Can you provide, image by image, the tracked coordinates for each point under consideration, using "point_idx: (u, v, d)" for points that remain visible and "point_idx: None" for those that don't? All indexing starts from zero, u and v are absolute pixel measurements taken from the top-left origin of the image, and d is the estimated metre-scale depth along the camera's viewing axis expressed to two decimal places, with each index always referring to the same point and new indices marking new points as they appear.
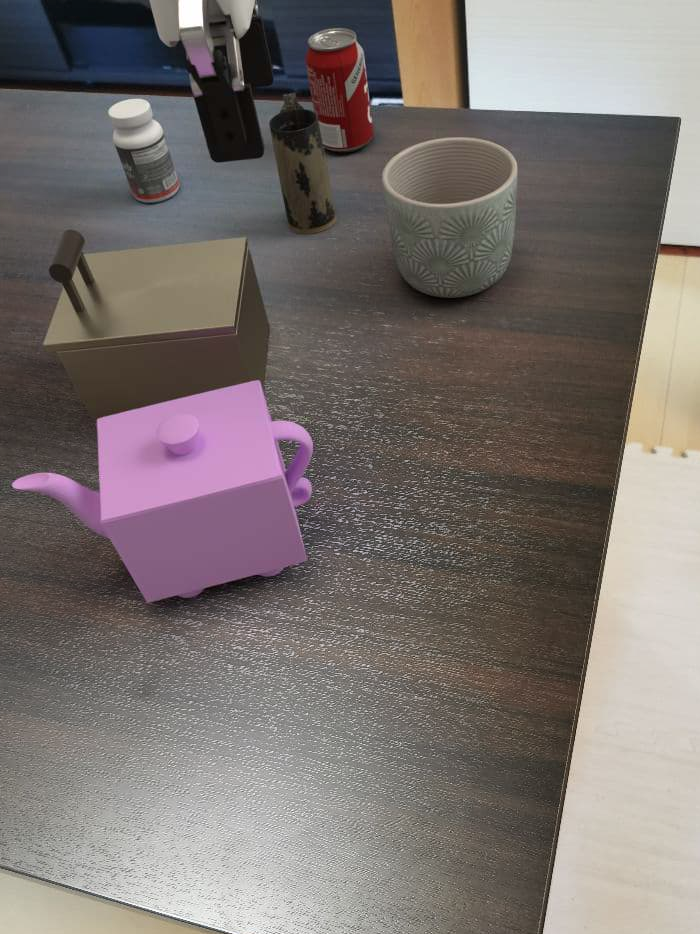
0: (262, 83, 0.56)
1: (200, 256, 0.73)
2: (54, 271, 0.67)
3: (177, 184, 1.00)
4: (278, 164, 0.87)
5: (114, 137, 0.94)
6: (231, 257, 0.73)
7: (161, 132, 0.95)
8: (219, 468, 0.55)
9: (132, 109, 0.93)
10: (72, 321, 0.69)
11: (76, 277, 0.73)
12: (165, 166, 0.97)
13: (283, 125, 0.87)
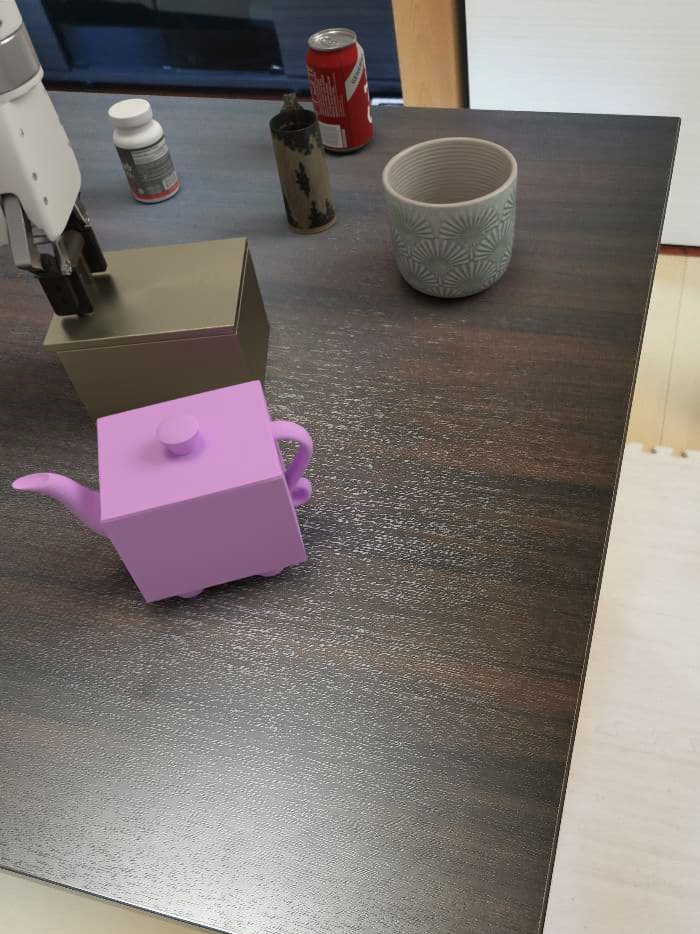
0: (97, 270, 0.72)
1: (200, 256, 0.73)
2: None
3: (177, 183, 1.00)
4: (278, 164, 0.87)
5: (114, 137, 0.94)
6: (231, 257, 0.73)
7: (161, 132, 0.95)
8: (219, 468, 0.55)
9: (132, 109, 0.93)
10: (72, 321, 0.69)
11: None
12: (165, 166, 0.97)
13: (283, 125, 0.87)
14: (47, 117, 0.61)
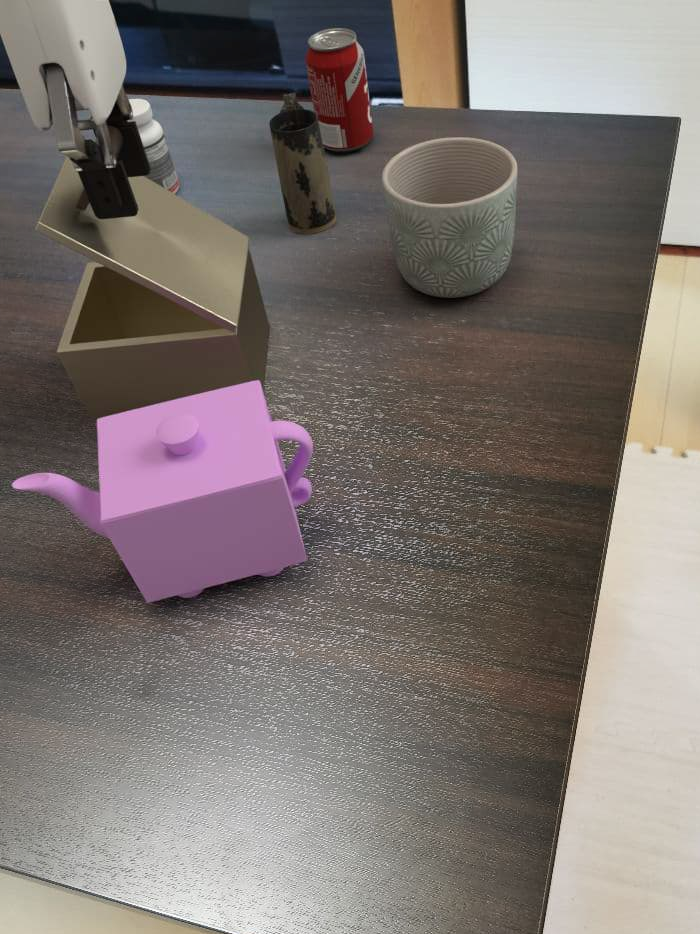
0: (140, 173, 0.66)
1: (206, 229, 0.71)
2: None
3: (177, 183, 1.00)
4: (278, 164, 0.87)
5: None
6: (235, 250, 0.72)
7: (161, 132, 0.95)
8: (219, 468, 0.55)
9: (132, 109, 0.93)
10: (72, 215, 0.62)
11: None
12: (165, 166, 0.97)
13: (283, 125, 0.87)
14: None
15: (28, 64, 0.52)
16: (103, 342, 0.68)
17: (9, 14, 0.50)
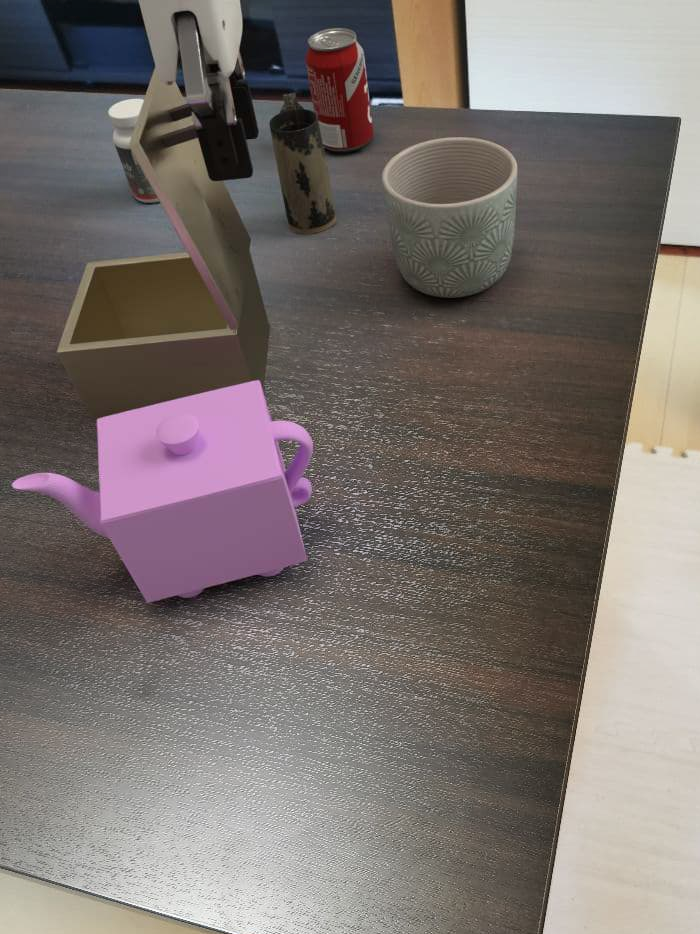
0: (248, 137, 0.64)
1: (230, 215, 0.70)
2: None
3: None
4: (278, 164, 0.87)
5: (114, 137, 0.94)
6: (243, 247, 0.72)
7: None
8: (219, 468, 0.55)
9: (132, 109, 0.93)
10: (158, 148, 0.58)
11: (164, 93, 0.61)
12: None
13: (283, 125, 0.87)
14: None
15: (160, 12, 0.51)
16: (103, 342, 0.68)
17: None
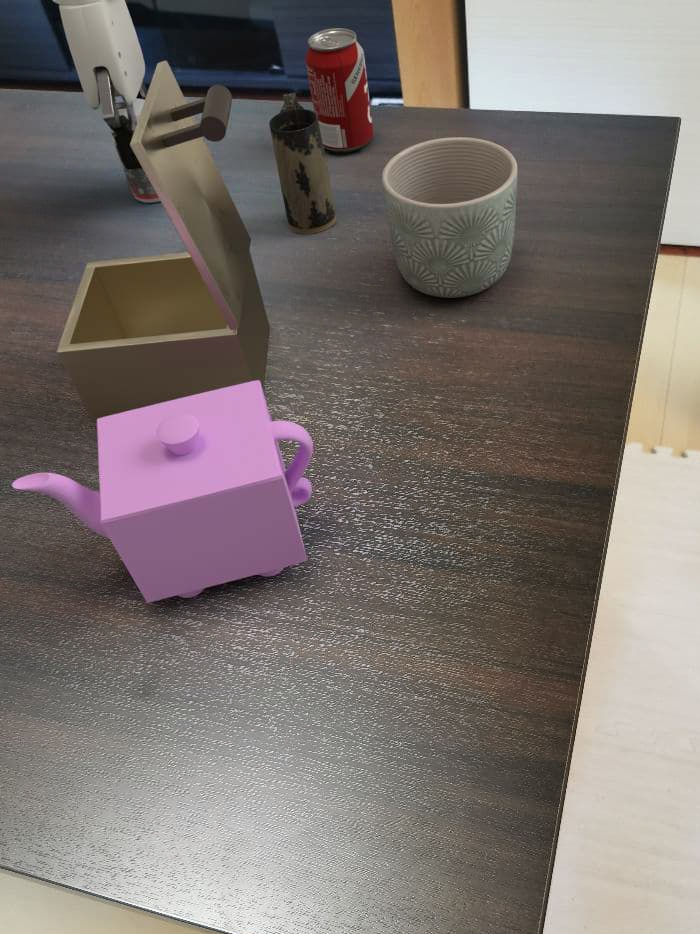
0: None
1: (230, 215, 0.70)
2: (213, 122, 0.58)
3: None
4: (278, 164, 0.87)
5: None
6: (243, 247, 0.72)
7: None
8: (219, 468, 0.55)
9: None
10: (160, 148, 0.58)
11: (165, 93, 0.61)
12: None
13: (283, 125, 0.87)
14: (126, 16, 0.87)
15: (86, 67, 0.85)
16: (103, 342, 0.68)
17: (76, 37, 0.83)
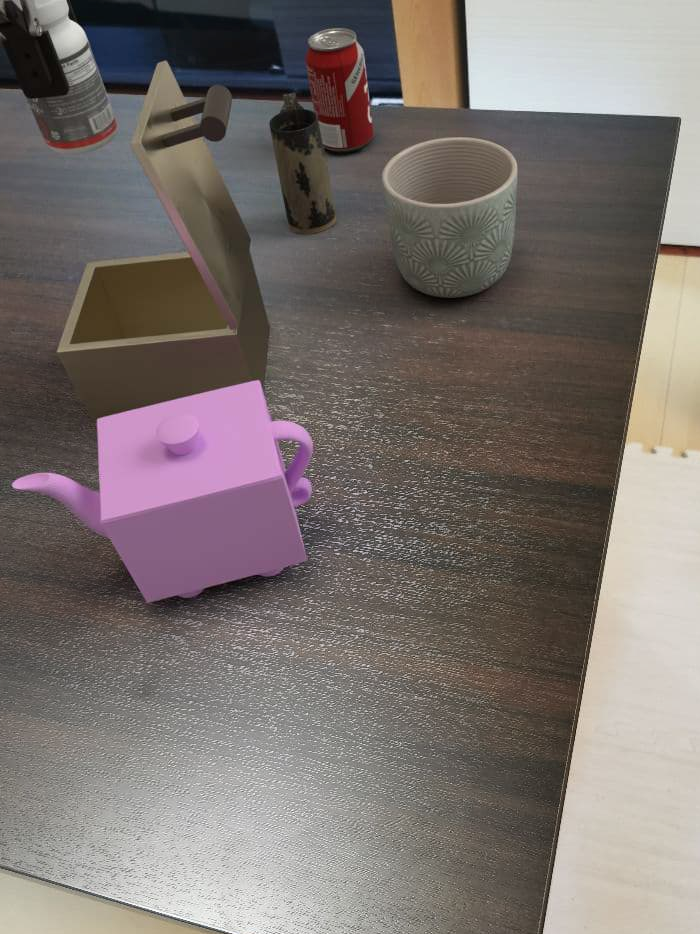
0: None
1: (230, 215, 0.70)
2: (213, 122, 0.58)
3: (114, 125, 0.65)
4: (278, 164, 0.87)
5: None
6: (243, 247, 0.72)
7: (84, 39, 0.60)
8: (219, 468, 0.55)
9: None
10: (160, 148, 0.58)
11: (165, 93, 0.61)
12: (92, 95, 0.62)
13: (283, 125, 0.87)
14: None
15: None
16: (103, 342, 0.68)
17: None
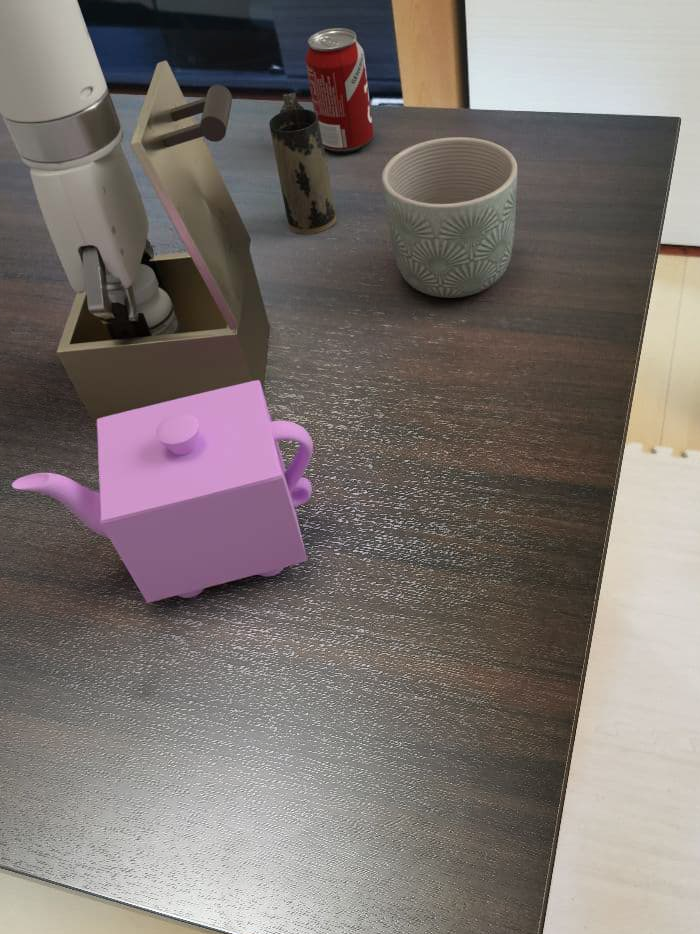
0: None
1: (230, 215, 0.70)
2: (213, 122, 0.58)
3: None
4: (278, 164, 0.87)
5: None
6: (243, 247, 0.72)
7: (169, 306, 0.72)
8: (219, 468, 0.55)
9: None
10: (160, 148, 0.58)
11: (165, 93, 0.61)
12: None
13: (283, 125, 0.87)
14: (123, 172, 0.65)
15: (69, 246, 0.62)
16: (103, 342, 0.68)
17: (54, 211, 0.60)
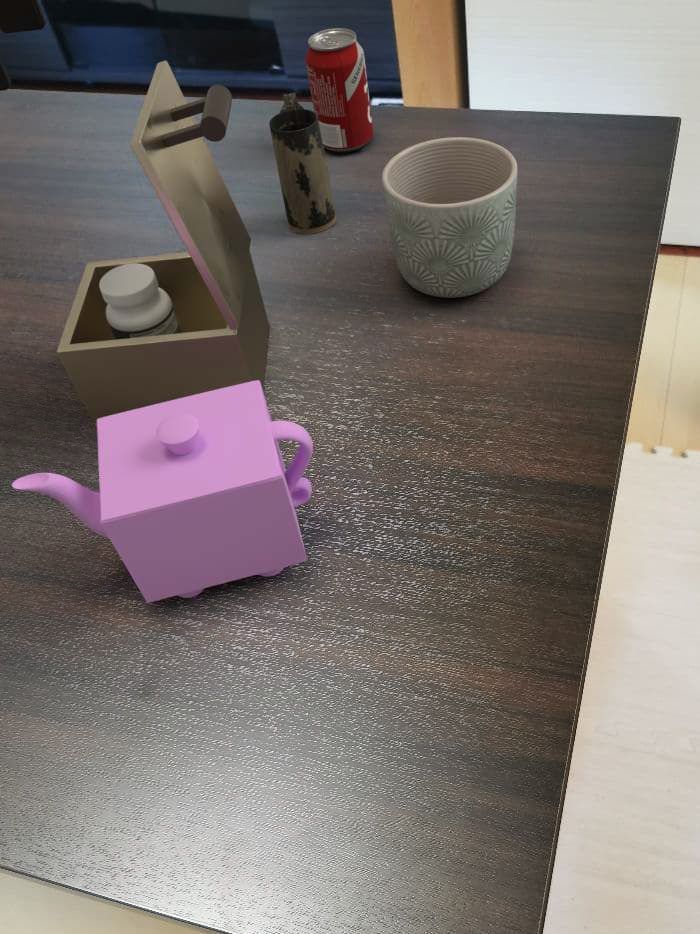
0: (33, 26, 0.59)
1: (230, 215, 0.70)
2: (213, 122, 0.58)
3: None
4: (278, 164, 0.87)
5: (107, 314, 0.72)
6: (243, 247, 0.72)
7: (169, 306, 0.72)
8: (219, 468, 0.55)
9: (131, 282, 0.70)
10: (160, 148, 0.58)
11: (165, 93, 0.61)
12: None
13: (283, 125, 0.87)
14: None
15: None
16: (103, 342, 0.68)
17: None
